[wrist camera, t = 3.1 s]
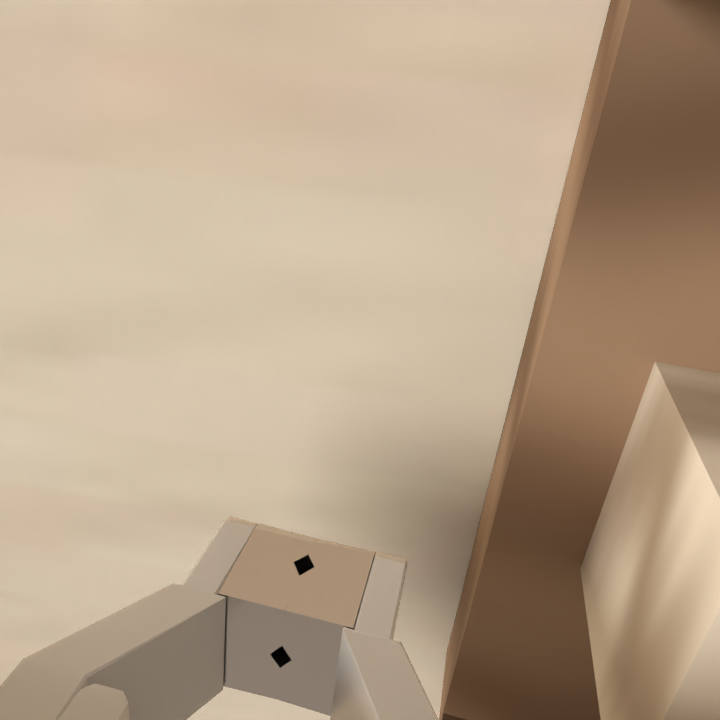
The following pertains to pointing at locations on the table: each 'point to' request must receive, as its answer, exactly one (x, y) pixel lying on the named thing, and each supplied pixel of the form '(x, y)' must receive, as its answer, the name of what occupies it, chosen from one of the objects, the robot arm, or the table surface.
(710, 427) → the maple block
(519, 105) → the table surface
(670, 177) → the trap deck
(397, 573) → the robot arm
